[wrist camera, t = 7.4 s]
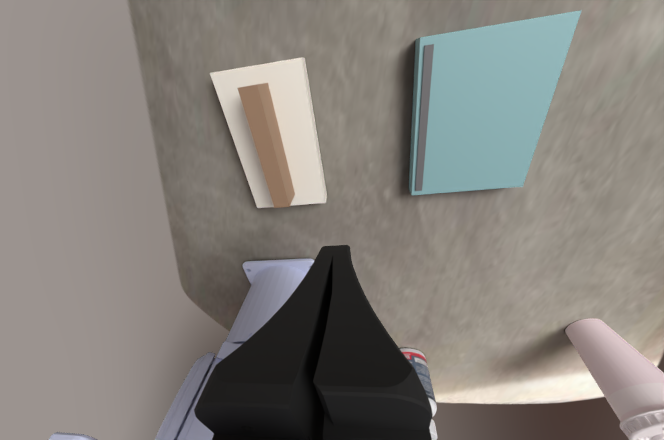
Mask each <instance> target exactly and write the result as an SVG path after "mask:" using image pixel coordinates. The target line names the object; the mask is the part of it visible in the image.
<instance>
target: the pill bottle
mask: <svg viewBox="0 0 664 440" xmlns="http://www.w3.org/2000/svg"><path fill="white" fill-rule="evenodd" d="M400 350H401V352H402V353H403V354H404V355H405V357H406V358H407V359H408V360H409V362H410V363H411V364H412V365H413V367H414V369H415V371H416V373H417V375H418V377H419V379H420V381H421V383H422V385H423V387H424V389H425V391H426V394H427V396H428V399H429V402H430V405H431V408H432V417H433V416H434V415H435V413H436V410H437V407H436V401H435V397H434V393H433V388H432V384H431V380H430V375H429V371H428V367H427V362H426V359H425V356H424V354H423V353H422V352H420V351H418V350H416V349H412V348H401V349H400ZM429 429H430V434H431V438H432V440H436V439H437V432H436V428H435V423H434V421H433V420H432V419H431V423H430V427H429Z"/></svg>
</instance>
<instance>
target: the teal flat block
mask: <svg viewBox="0 0 664 440" xmlns="http://www.w3.org/2000/svg"><path fill="white" fill-rule="evenodd" d="M580 13H581V10H580V11H574V12H569V13H563V14H557V15H551V16H545V17H539V18H533V19H527V20H521V21H515V22H509V23H504V24H498V25H492V26H486V27H480V28H474V29H468V30H462V31H456V32H450V33H444V34H438V35H433V36H427V37H421V38H418V39H416V44H415V65H414V86H413V108H412V129H411V150H410V171H409V191H410V193H411V195H422V194H435V193H447V192H460V191H472V190H485V189H497V188H510V187H522V186H523V184H524V181H525V178H526V175H527V172H528V169H529V166H530V163H531V160H532V157H533V154H534V151H535V148H536V145H537V142H538V139H539V136H540V133H541V130H542V127H543V124H544V121H545V118H546V115H547V112H548V109H549V106H550V103H551V100H552V97H553V94H554V91H555V88H556V85H557V82H558V79H559V76H560V73H561V70H562V67H563V64H564V61H565V58H566V55H567V52H568V49H569V46H570V43H571V40H572V37H573V34H574V31H575V28H576V25H577V22H578V19H579V16H580Z"/></svg>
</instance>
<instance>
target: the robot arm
mask: <svg viewBox="0 0 664 440" xmlns="http://www.w3.org/2000/svg"><path fill="white" fill-rule="evenodd" d="M242 266H243V269H244V271H245V273H246V275H247V277H248V280H249V282H250V284H251V287H250V289H249V291H248V294H247V296H246V298H245V300H244V302H243V304H242V306H241V309H240V311H239V313H238V315H237V317H236V319H235V321H234V324H233V326H232V328H231V330H230V332H229V334H228V336H227V339H226V341H225V342H223V344H222V346H221V348H220V350H219V352H218V355H217V357H216V359H215V358H214V357H215V353H211V352H208V353H207V354H206V355H204V356H202V357H200V358H199V359H197V360H196V362H195V363H194V365H193V366H192V368H191V370H190V372H189V373H188V375H187V377H186V379H185V381H184V382H183V384H182V386H181V388H180V390H179V391H178V393H177V395H176V397H175V399H174V401H173V403H172V405H171V407H170V409H169V411H168V413H167V415H166V417H165V419H164V421H163V423H162V425H161V427H160V429H159V431H158V434H157V436H156V438H155V440H432V438H431V434H430V429H429V427H430V423H431V419H432V408H431V405H430V402H429V399H428V396H427V394H426V391H425V389H424V387H423V385H422V383H421V381H420V379H419V377H418V375H417V373H416V371H415V369H414V367H413V365H412V364H411V363H410V362H409V360H408V359H407V358H406V357H405V355H404V354H403V353H402V352H401V350H400V349H399V348H398V346H397V345H396V344H395V342H394V341H393V340H392V338H391V337H390V335H389V334H388V333H387V331H386V329H385V328H384V326H383V325H382V323H381V322H380V320H379V319H378V317H377V316H376V314H375V312H374V311H373V309H372V307H371V305H370V304H369V302H368V300H367V298H366V296H365V294H364V292H363V290H362V288H361V286H360V283H359V281H358V279H357V276H356V273H355V270H354V268H353V265H352V261H351V253H350V247H349V246H348V245H339V246H323V247H322V248H321V250H320V252H319V254H318V256H317V257H316V259H315V261H314V260H313V259H288V260H266V261H246V262H244V263H243V265H242ZM310 266H311V267H310ZM48 440H97V439H95V438H93V437H90V436H87V435H84V434H75V433H60V432H56V433H54V434H52V436H51V437H50V438H49V439H48Z"/></svg>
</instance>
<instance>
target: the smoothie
mask: <svg viewBox="0 0 664 440" xmlns="http://www.w3.org/2000/svg"><path fill="white" fill-rule="evenodd" d="M565 332H566V334H567V336H568V337H569V339H570V341H571V342H572V344H573V345H574V347H575V349H576V350H577V352H578V354H579V355H580V357H581V358H582V360H583V362H584V363H585V365H586V367H587V368H588V370H589V371H590V373H591V375H592V376H593V378H594V379H595V381H596V383H597V384H598V386H599V388H600V389H601V391H602V392H603V394H604V396H605V397H606V399H607V401H608V402H609V404H610V406H611V407H612V409H613V410H614V412H615V413H616V415H617V416H618V418H619V420H620V421H621V423H620V428H621V429H622V431H623V432H624V433H625V434H626V435H627V437H628V438H629V440H664V373H663V372H662V371H660V369H658V368H657V367H656V366H655V365H654V364H653V363H651V362H650V361H649V360H648V359H647V358H645V357H644V356H643V355H642V354H641V353H639V352H638V351H637V350H636V349H635V348H634V347H632V346H631V345H630V344H629V343H628V342H626V341H625V340H624V339H623V338H622V337H620V336H619V335H618V334H617V333H616V332H615V331H613V330H612V329H611V328H610V327H609V326H607V325H606V324H605V323H604V322H603V321H601V320H599V319H594V318H589V319H582V320H579V321H576V322H574V323H572V324H570V325H569V326H568V327H567V328H566V330H565Z"/></svg>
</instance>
